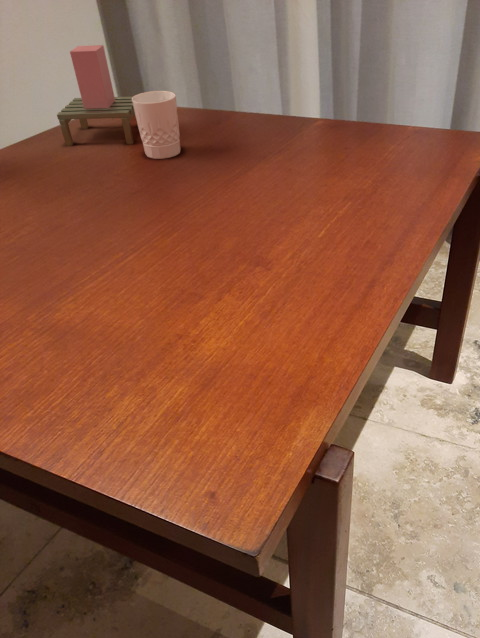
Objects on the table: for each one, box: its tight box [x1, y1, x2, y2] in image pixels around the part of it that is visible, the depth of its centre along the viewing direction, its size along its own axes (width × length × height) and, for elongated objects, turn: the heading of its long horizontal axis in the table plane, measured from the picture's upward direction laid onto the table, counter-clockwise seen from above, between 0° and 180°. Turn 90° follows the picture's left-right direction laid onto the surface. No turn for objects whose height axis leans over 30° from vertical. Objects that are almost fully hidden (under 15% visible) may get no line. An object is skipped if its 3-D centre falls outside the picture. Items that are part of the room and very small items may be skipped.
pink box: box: [69, 44, 116, 109], centre depth 108 cm, size 5×5×10 cm
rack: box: [56, 95, 135, 147], centre depth 113 cm, size 14×12×6 cm
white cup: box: [132, 90, 182, 160], centre depth 103 cm, size 8×8×10 cm
